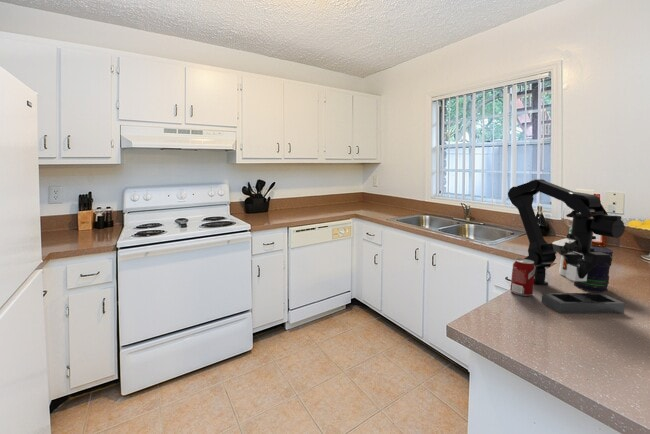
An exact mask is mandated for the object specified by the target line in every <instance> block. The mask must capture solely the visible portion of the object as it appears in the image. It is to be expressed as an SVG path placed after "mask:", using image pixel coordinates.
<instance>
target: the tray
mask: <svg viewBox="0 0 650 434" xmlns="http://www.w3.org/2000/svg"><path fill="white" fill-rule="evenodd" d="M541 303H542V304H543V305H546V306H547V307H549V308H551V309H552V310H553V311H555V312H557V313H558V314H624V313H625V311H626V310H625V309H626V303H625V302H623V301H622V300H619V299H616V298H615V297H612V296H610V295H607V294H605V293H604V292H591V293H590V292H569V293H568V292H542V296H541Z"/></svg>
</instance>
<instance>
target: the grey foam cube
mask: <svg viewBox="0 0 650 434" xmlns="http://www.w3.org/2000/svg"><path fill="white" fill-rule="evenodd" d="M579 270H580V264H567V271H566V276H565V278H566V279H569V280H571V281H573V282H575V281H587V275H586V276H585V277H584V278H583V279H580V278H579Z"/></svg>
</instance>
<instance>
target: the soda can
mask: <svg viewBox="0 0 650 434" xmlns="http://www.w3.org/2000/svg"><path fill="white" fill-rule="evenodd" d="M535 270H536V267H535V265H534V261H532V260H528V259H524V258H516V259H515V261H514V262H513V264H512V271H511V281H510V288H509V289H510V291H511V292H512V293H513V294H515V295H517V296H521V297H528V296H532V295H533V294H534V287H535V284H534V278H535Z"/></svg>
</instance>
